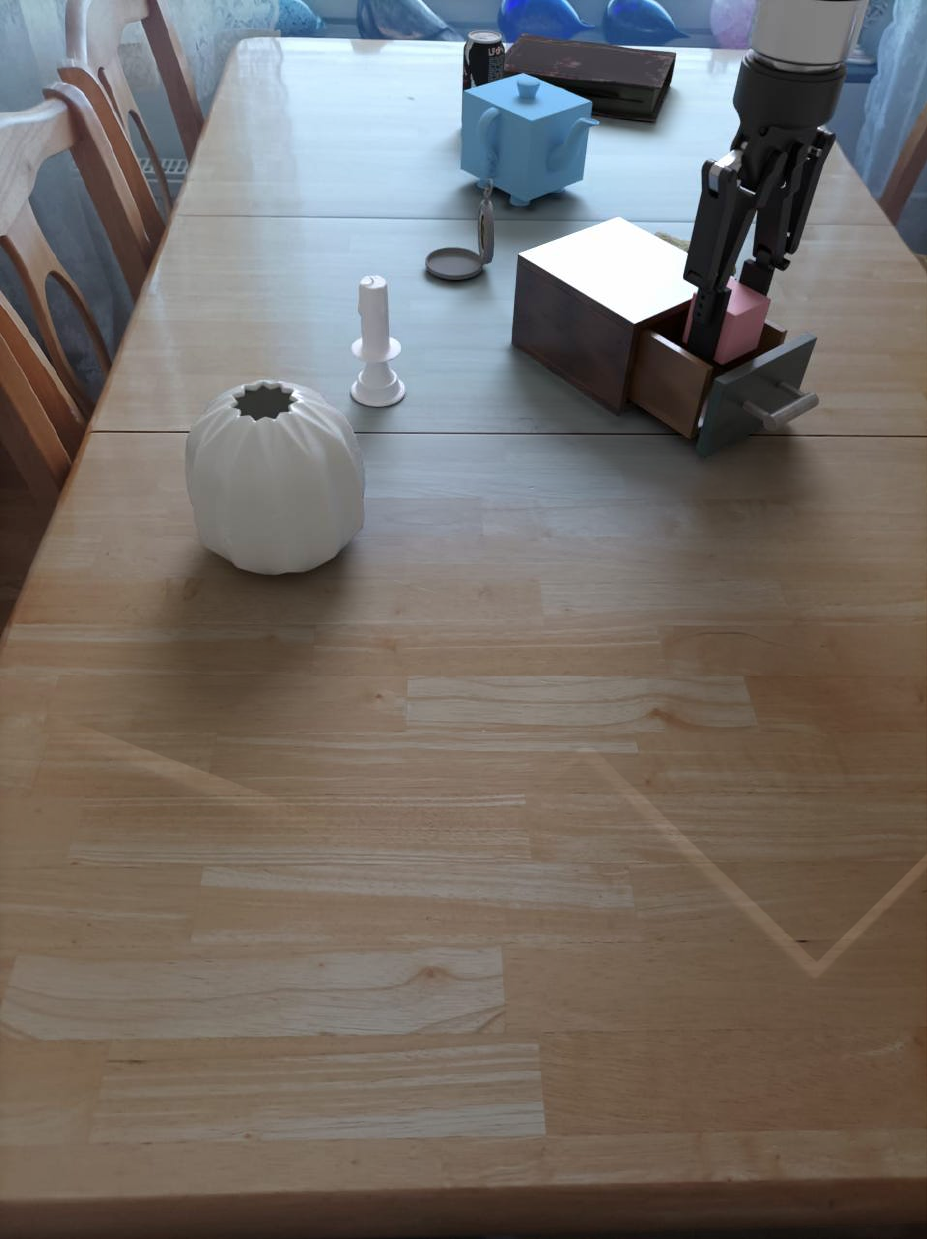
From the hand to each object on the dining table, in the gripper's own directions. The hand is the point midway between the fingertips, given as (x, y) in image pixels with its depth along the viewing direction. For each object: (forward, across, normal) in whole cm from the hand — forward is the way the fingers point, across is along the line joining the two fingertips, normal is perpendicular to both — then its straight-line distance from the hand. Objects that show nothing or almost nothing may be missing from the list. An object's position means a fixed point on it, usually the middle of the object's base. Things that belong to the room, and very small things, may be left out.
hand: (720, 342), depth 85 cm
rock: (+8, -19, -19) cm, 28 cm away
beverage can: (+8, -27, -66) cm, 72 cm away
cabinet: (+8, 0, -12) cm, 15 cm away
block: (0, 0, 0) cm, 0 cm away
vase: (+8, +41, -9) cm, 43 cm away
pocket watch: (+8, +1, -35) cm, 36 cm away
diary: (+8, -49, -68) cm, 85 cm away
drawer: (+7, 0, 0) cm, 7 cm away
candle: (+8, +23, -21) cm, 32 cm away
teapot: (+8, -19, -46) cm, 50 cm away
